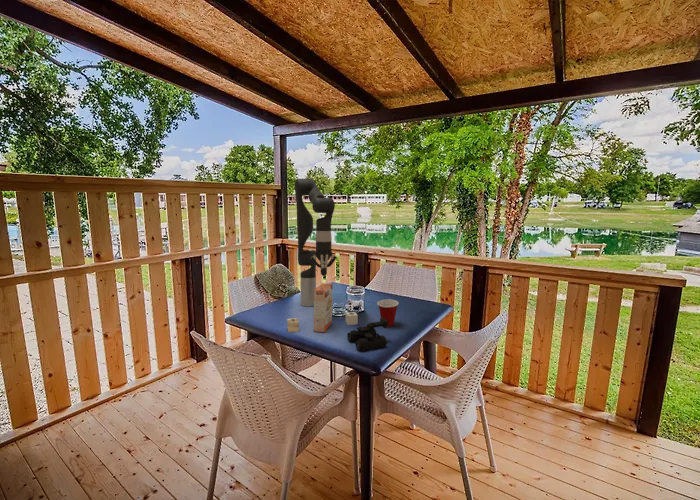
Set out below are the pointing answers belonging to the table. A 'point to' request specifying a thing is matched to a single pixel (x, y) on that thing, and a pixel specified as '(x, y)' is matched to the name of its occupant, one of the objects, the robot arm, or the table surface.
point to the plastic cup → (388, 310)
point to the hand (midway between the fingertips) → (323, 275)
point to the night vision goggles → (368, 336)
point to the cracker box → (322, 307)
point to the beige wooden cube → (351, 318)
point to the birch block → (293, 325)
